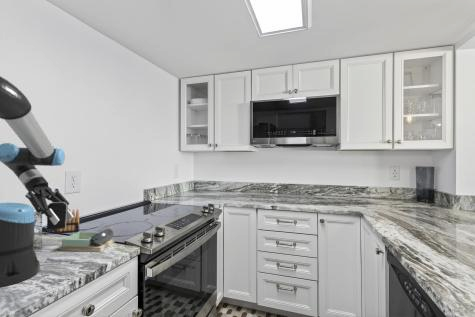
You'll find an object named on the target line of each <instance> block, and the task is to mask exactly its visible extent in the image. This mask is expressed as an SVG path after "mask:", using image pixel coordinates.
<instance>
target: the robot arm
mask: <svg viewBox="0 0 475 317" xmlns="http://www.w3.org/2000/svg"><path fill="white" fill-rule="evenodd" d="M30 102H31V101H30V100H28V97H27V96H26V95H25V94H24V93H23V92H22V91H21V90H20V89H19V88H18V87H17V86H15V84H13V83H12V82H10V81H8V80H7V79H6V78H4V77H2V76H1V75H0V119H1V120H4V122H6V123H7V124H8V126H9V127H10V128H11V130H12V131H13V132H14V134H16V136H17V137H18V139H20V141H21V142H22V143H23V145H24V146H25V147H18V146H17V145H16V144H14V143H10V142H4V143H1V144H0V162H1V163H2V164H3V165H4V166H6V167H7V168H8V169H10V171H12V172H13V173H14V175H15V176H16V177H17V178H18V180H19V181H20V182H21V184H22V185H23V187H24V188H25V189H26V190H27V191H28V192H27V193H26V194H25V195H24V196H25V198H27V199H28V201H29V202H30V204H31V205H30V204H27V203H23V202H0V288H1V287H6V286H10V285H14V284H18V283H20V282H23V281H26V280H28V279H30V278H33V277H34V276H36V275H37V274H39V272H40V269H41V268H40V260H38V257H37V254H36V252H35V248H34V244H35V243H34V242H35V240H34V239H35V220H36V217H35V212H37V213H40V214H41V215H45V216H46V219H47V218H49V219H50V220H51V221H52V223H53V224H54V225H55V224H57V223H58V222H59V218H58V217H57V216H56V214H55V213H54V212H53V211H52V209H49V210H48V205H49V204H48V202H47V200H48V201H51V203H53V202H66V203H67V205H68V206H69V205H70V202H69V201H68V200H67V199H66V197H65V196H64V195H63V194H62V193H61V192H60V191H59V189H58V188H55V189H52V188H51V187H49V182H48V181H47V180H46V179H45V177H44V175H43V174H42V173H41V172H40V171H39V170H38V168H37V167H36V166H42V167H43V166H44V167H45V166H48V167H50V166H51V167H53V166H62V165H63V164H64V162H65V160H66V159H65V158H66V157H65V156H66V155H65V150H64V149H62V148H57V147H56V148H55V147H54V146H53V145H52V143H51V141H50V139H49V138H48V136H47V135H46V133H45V131H44V130H43V128H42V126H41V125H40V124H39V122H38V121H37V119H36V117H35V116H34V114H33V113H32V104H31V103H30ZM70 211H71V209H70V210H69V208H68V212H67V220H68V221H70V220H72V218H73V217H74V216H73V215H72V212H70Z"/></svg>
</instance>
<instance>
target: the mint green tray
mask: <svg viewBox="0 0 475 317" xmlns="http://www.w3.org/2000/svg"><path fill="white" fill-rule="evenodd" d="M113 236H114V231H113V229H111V228H105V229H104V230H101V231H79V232H74V233H73V234H71V235H69V236H66V237H65V238H62V239H61V246H59V251H62V252H96V253H97V252H102V251H103V250H105V249H107V248H108V247H110V246H111V245H113V244H114V243H116V238H115V237H114V238H113Z"/></svg>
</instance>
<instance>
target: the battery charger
mask: <svg viewBox="0 0 475 317" xmlns="http://www.w3.org/2000/svg"><path fill="white" fill-rule="evenodd" d="M47 205H48V210H49V209H52V211H53V212H54V213H55V214H56V216H57V217H58V218H59V222H58V223H57V224H55V225H54V224H53V223H52V221H51V220H50V219H49V218H47V217H46V230H54V229H62V228H66V218H67V212H68V209H69V207H68V206H69V205H67V203H66V202H49V204H47Z"/></svg>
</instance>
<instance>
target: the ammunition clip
mask: <svg viewBox="0 0 475 317" xmlns="http://www.w3.org/2000/svg"><path fill="white" fill-rule="evenodd" d="M68 209H69V208H68ZM69 210H70V212H71V209H69ZM79 212H80V210H79V208H77V209H76V211H75V209H74V208H73V209H72V212H71V214H72V215H73V216H74V217H73V218H72V219H71V220H70V221H68V220H67V218H66V228H62V229H53V234H54V235H61V234H72V233H73V232H74V233H77V232H80V213H79ZM74 233H73V234H74Z"/></svg>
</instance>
